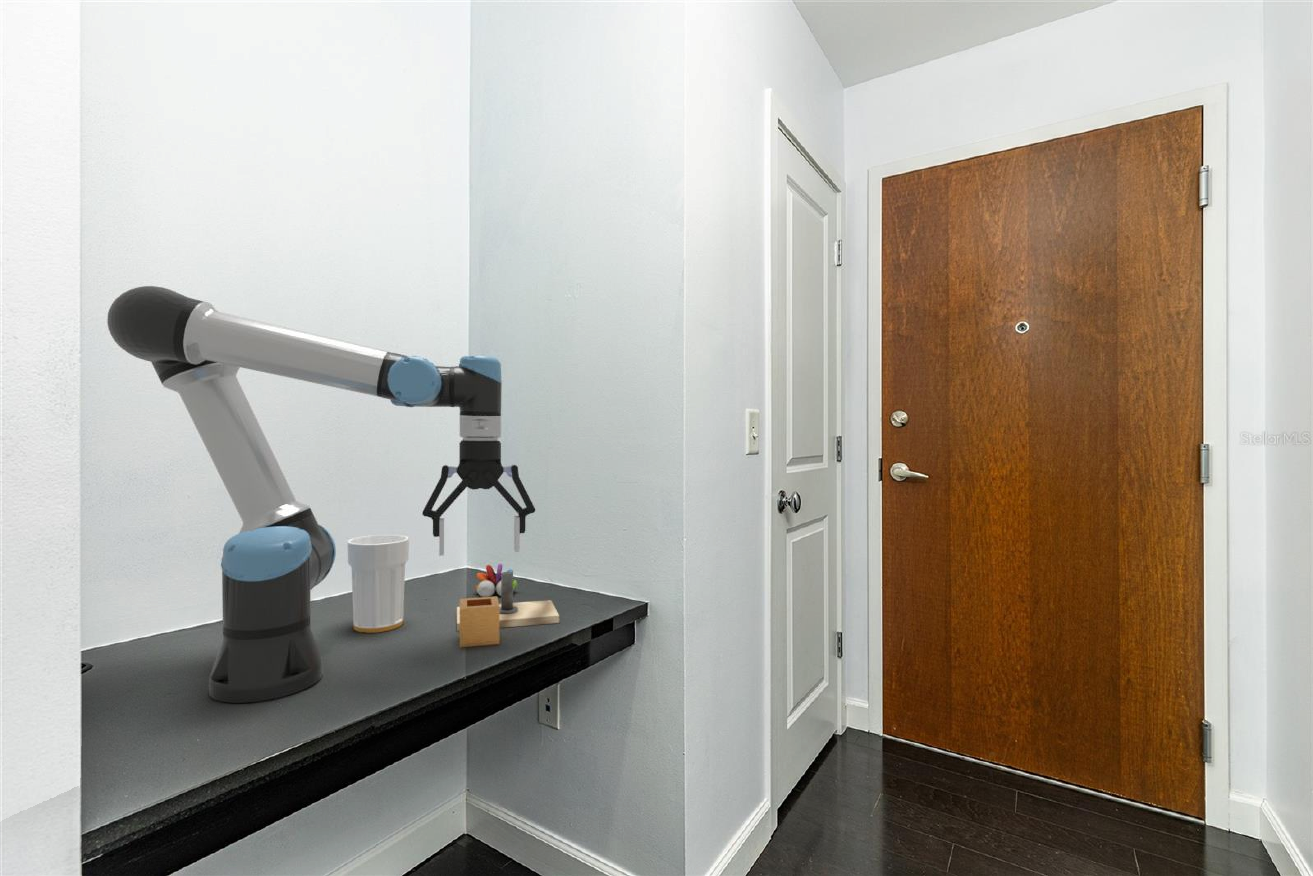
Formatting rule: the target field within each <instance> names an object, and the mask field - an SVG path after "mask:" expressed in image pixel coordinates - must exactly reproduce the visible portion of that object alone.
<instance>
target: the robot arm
mask: <svg viewBox="0 0 1313 876" xmlns="http://www.w3.org/2000/svg"><path fill="white" fill-rule="evenodd" d="M106 320H107V323H106V324H107V328H108V331H109V334H110V336H111V337H112V339H113V341H114V342H115V343H116V344H117V345H118V346H119V347H120V348H121V349H122V350H123V351H125V352H126V353H128V354H129V355H131V356H133V357H134V358H136V359H139V360H143V361H146V362H151V364H152V366H153V368H154V371H155V373H156V375H157V377H158V379H159V381H160V382H161V385H162V386H163V388H165V389H168V390H170V391H174V392H176V393H177V394H179V396H180V398H181V400H182V403H183V404H184V406H185V408H186V410H187V413H188V414H189V416H190V418H191V420H192V422H193V424H194V426H195V429H196V430H197V432H198V434H199V436H200V438H201V440H202V442H203V444H204V446H205V448H206V451H207V452H208V454H209V456H210V459H211V461H212V463H213V464H214V467H215V469H216V470H217V473H218V475H219V477H220V479H221V481H222V482H223V484H224V487H225V489H226V491H227V492H228V495H229V497H230V499H231V501H232V503H233V505H234V507H235V509H236V510H237V513H238V515H239V517H240V519H241V521H242V526H241V528H240V531H239V532H238V533H237V534H234V535H233V536H231V537H230V538H229V539H228V540H226V542H225V543H224V545H223V549H222V557H221V563H220V567H221V570H222V573H221V575H222V577H221V578H222V579H221V581H222V586H221V589H222V641H221V644H220V647H219V650H218V652H217V655H216V658H215V660H214V663H213V666H212V669H211V672H210V675H209V677H208V678H209V679H208V695H209V696H210V697H209V698H211V699H213V700H215V701H217V700H218V702H224V703H229V704H231V703H232V704H235V703H236V704H239V703H240V704H242V703H245V704H247V703H256V702H262V701H268V700H274V699H278V698H282V697H286V696H289V695H292V694H295V693H298V692H302V691H304V690H305V689H308V688H310V687H312V686H313V685H315V684H316V683H318V682H319V681H320V680H321V679H322V677H323V675H324V661H323V657H322V655H321V651H320V649H319V647H318V644H317V641H316V638H315V636H314V633H313V631H312V627H311V626H312V625H311V590H313V589H314V588H315V587H316V586H318V585H319V584H320V583H321V582H323V581H324V580H325V579H326V577H327V576H328V575H329V574H330V572H331V569H332V568H333V565H334V563H335V560H336V555H337V554H336V552H337V550H336V549H337V548H336V543H335V540H334V538H333V536H332V534H331V533H330V532H329V531H328V530H327V529H326V528H325V527H323V525H320V524H319V523H318V521H317V518H316V517H315V515H314V513H313V510H312V509H311V507H310V506H309V505H308V504H305V503H302V502H299V501H298V500H296V497H295V495H294V493H293V491H292V489H291V487H290V485H289V483H288V481H287V479H286V476H285V475H284V473H283V471H282V469H281V467H280V465H279V463H278V461H277V458H276V455H275V454H274V452H273V450H272V448H271V446H270V444H269V441H268V440H267V438H266V435H265V433H264V431H263V430H262V427H261V426H260V423H259V421H258V418H257V417H256V415H255V413H254V410H253V409H252V406H251V405H250V402H249V401H248V399H247V396H246V394H245V392H244V390H243V388H242V385H241V383H240V382H239V380H238V378H237V374H238V372H239V370H240V368H242V369H247V370H252V371H257V372H260V373H266V374H270V375H276V376H280V377H285V378H289V379H294V380H299V381H303V382H307V383H313V384H317V385H321V386H322V385H323V386H326V387H332V388H336V389H341V390H346V391H351V392H355V393H359V394H364V395H370V396H374V397H378V398H382V399H386V400H390V403H392V405H394V406H397V407H406V408H414V407H419V408H421V407H422V408H424V407H425V408H432V407H433V408H435V407H437V408H444V407H448V408H459V438H462V440H460V442H459V448H458V449H459V459H458V461H459V462H458V466H450V465H447V464H444V465H443V466H442V467H441V473H440V478H439V480H438V482H437V483H436V485H435V488H434V489H433V491H432V493H431V495H430V497H429V499H428V501H427V503H426V504H425V506H424V508H423V511H422V516H423V517H427V518H431V520H432V535H433V537H434V538H436V537H437V538H438V537H439V539H438V541H439V542H438V543H439V550H438V551H439V552H438V553H439V556H444V555H445V517H441V516H442V515H444V513H445V512H446V511H447V510H448V509H449V508H450V507H451V505H452V504H453V503H454V502H455V500H457V499H458V497H459V496H460V495H461V494H462V493H463V492H464V491H465V490H466V488H468V489H470V490H472V491H473V490H479V489H482V490H490V489H492V488H495V489H496V490H497V491H498V493H499V494H500V495H501V496H502V497H503V498H504V499H505V501H506V502H507V503H508V504H509V505H510V507H512V509H514V511H515V512H516V513H517V514H518V515H514V517H513V518H514V521H513V523H514V525H513V536H514V537H513V549H514V552H515V553H520V537H521V536H520V535H521V534H525V533H526V518H527V516H528V515H530V514H534V513H536V507H535V506H534V504H533V501H532V500H531V498H530V496H529V493H528V491H527V490H526V488H525V486H524V485H523V482H522V480H521V478H520V476H519V467H518V466H517V465H516V464H511V465H505V466H503V465H502V442H501V441H500V440H498V439H499V438H501V437H502V383H503V382H502V381H503V380H502V364H501V361H500V360H499V359H498V358H497V357H495V356H494V357H493V356H489V355H488V356H487V355H464V356H461V358H460V359H459V363H458V366H456V365H455V366H442V365H441V366H440V365H435V363H433V362H431V361H430V360H429V359H427V358H424V357H420V356H416V355H411V356H410V355H404V354H400V353H396V352H390V351H387V350H383V349H380V348H379V349H378V348H375V347H370V346H366V345H362V344H357V343H353V342H349V341H344V340H340V339H336V338H331V337H328V336H323V335H319V334H316V333H311V332H306V331H302V330H298V329H294V328H290V327H285V326H280V325H276V324H272V323H268V322H264V321H260V320H255V319H251V318H246V317H242V316H240V315H238V316H237V315H234V314H231V313H225V312H220V311H218V310H216V308H215V307H214V305H213V304H212V303H210V302H207V301H203V300H199V299H196V298H192V297H188V296H186V295H183V294H181V293H179V292H176V291H175V290H172V289H169V288H166V287H163V286H154V285H145V286H138V287H134V288H131V289H129V290H126V291H125V292H122V293H121V294H120V295H119V296H117V297H116V298H115V300H113V302H112V303H111V305H110V307H109V309H108V313H107V319H106ZM504 473H506V475H507V477H510V478H511V480H512V481H513V483H514V485H515V487H516V489H517V491H518V493H519V495H520V497H521V499H522V501H523V503H524V505H525V507H523V508H522V506H521V505H520V504H519V503H518V502H517V500H515V498H514V497H513V496H512V495H511V493H509V491H508V490H507V489H506V488H505V487H504V486H503V484H502V483H501V482H500V481H499V479H500V478H501V477H502V475H503V474H504ZM454 474H457V476H458V477H459V479H461V481H460V482H459V484H458V485H457V486H456V487H455V488H454V490H452V492H451V493H450V494H449V495H448V496H447V497H446V498H445V500H444V501H443V502H442V503H441V504H440V505H439V507H437V509H436V510H433V508H434V506H435V504H436V502H437V500H438V499H439V496H440V494H441V492H442V490H443V488H444V487H445V485H446V482H448V481H447V480H448V479H450V478H452V477H453V475H454Z"/></svg>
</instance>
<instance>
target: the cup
mask: <svg viewBox="0 0 1313 876" xmlns="http://www.w3.org/2000/svg"><path fill="white" fill-rule="evenodd" d="M409 549H410V538H409V536H408V535H407V536H406V535H404V534H403V535H402V534H374V535H373V534H372V535H364V536H363V535H362V536H358V537H353V538H351V539H348V540H347V562H348V565H349V566H350V567H351V587H352V588H351V589H352V592H351V593H352V616H353V617H352V618H353V619H352V621H353V630H354V631H355V632H358V633H364V632H365V633H366V634H367V633H369V634H371V633H372V634H373V633H382V632H387V631H391V630H392V631H393V630H395V629H397V628H399V627H401V626H402V625H404V608H405V607H404V606H405V605H404V604H405V580H406V579H405V574H406V564H407V562H408V560H409Z"/></svg>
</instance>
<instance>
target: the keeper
mask: <svg viewBox="0 0 1313 876" xmlns="http://www.w3.org/2000/svg"><path fill="white" fill-rule="evenodd" d="M513 580H514V571H513V572H507V571H504V572H501V596H500V598H501V599H500V603H499V606H500V609H499V629H501V628H513V627H514V628H515V627H516V628H517V627H525V626H528V627H529V626H537V625H538V626H539V625H551V624H559V623H560V614H559V613H558V610H557V609H556V607H555V605H554V603H553V601H552V600H551V599H548V600H534V601H533V600H532V601H522V602H521V601H520V602H519V601H518V602H514V589H513ZM456 632H460V606H456Z"/></svg>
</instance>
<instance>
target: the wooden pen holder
mask: <svg viewBox="0 0 1313 876" xmlns="http://www.w3.org/2000/svg"><path fill="white" fill-rule="evenodd" d="M499 604H500V603H499V598H498V596H490V597H482V596H480V597H469V598H460V599H459V607H460V631H459V648H468V647H469V648H471V647H478V646H491V645H499V644H500V628H499V609H500V606H499Z"/></svg>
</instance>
